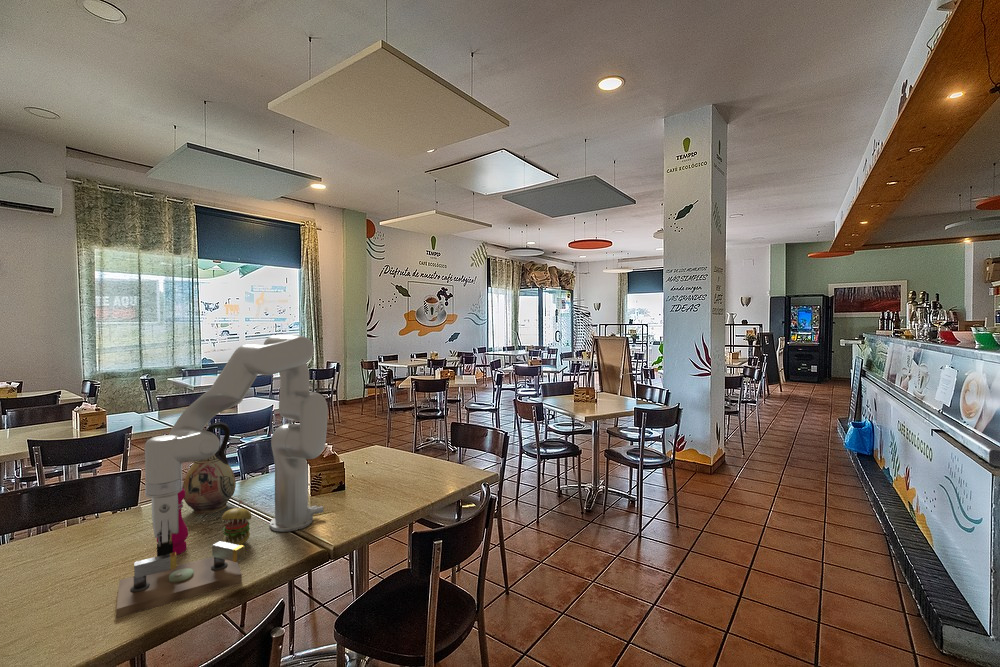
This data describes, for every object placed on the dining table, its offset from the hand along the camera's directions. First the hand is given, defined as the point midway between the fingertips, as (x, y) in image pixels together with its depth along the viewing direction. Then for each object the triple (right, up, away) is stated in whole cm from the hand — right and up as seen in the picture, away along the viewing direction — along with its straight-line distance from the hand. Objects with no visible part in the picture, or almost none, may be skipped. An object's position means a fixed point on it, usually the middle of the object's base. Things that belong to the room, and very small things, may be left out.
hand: (165, 559), depth 118 cm
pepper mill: (-8, -5, +14) cm, 16 cm away
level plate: (+6, -5, -2) cm, 8 cm away
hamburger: (+7, -5, +19) cm, 21 cm away
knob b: (+2, -3, -6) cm, 6 cm away
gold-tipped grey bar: (+15, -3, +1) cm, 15 cm away
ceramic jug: (-14, -4, +43) cm, 45 cm away
